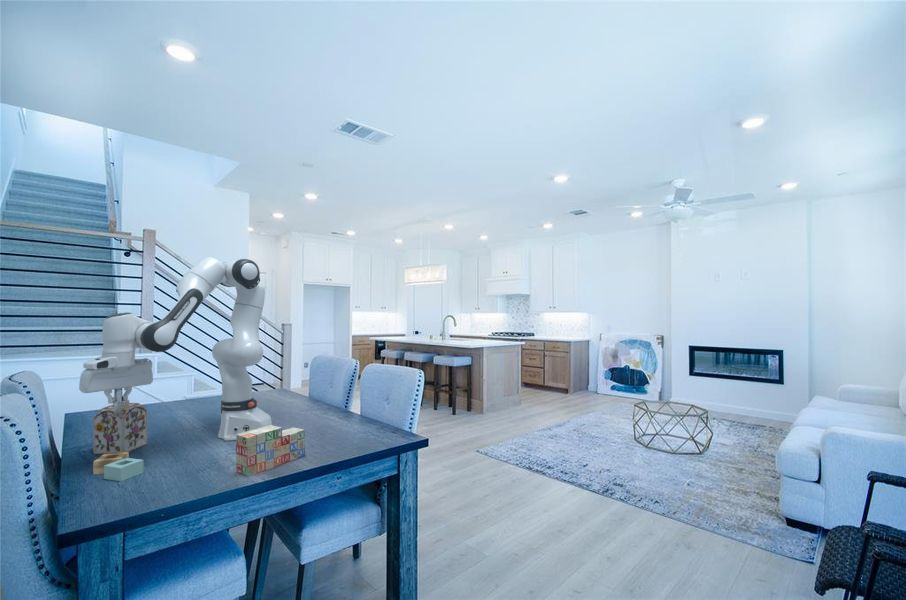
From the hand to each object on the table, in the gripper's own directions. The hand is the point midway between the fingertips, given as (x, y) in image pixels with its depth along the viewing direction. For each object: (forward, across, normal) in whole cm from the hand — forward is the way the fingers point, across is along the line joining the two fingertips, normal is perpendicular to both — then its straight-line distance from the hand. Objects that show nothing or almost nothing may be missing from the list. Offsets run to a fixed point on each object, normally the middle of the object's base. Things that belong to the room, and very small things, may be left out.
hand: (118, 402), depth 144 cm
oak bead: (+21, +3, +4) cm, 21 cm away
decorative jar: (+21, -8, -16) cm, 27 cm away
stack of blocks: (+21, -23, +47) cm, 57 cm away
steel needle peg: (+5, 0, 0) cm, 5 cm away
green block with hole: (+21, +4, +14) cm, 25 cm away
